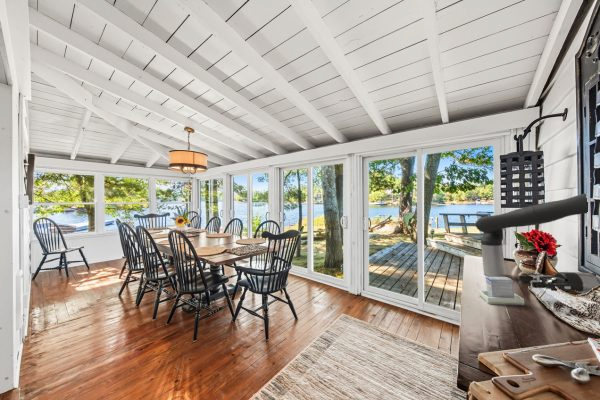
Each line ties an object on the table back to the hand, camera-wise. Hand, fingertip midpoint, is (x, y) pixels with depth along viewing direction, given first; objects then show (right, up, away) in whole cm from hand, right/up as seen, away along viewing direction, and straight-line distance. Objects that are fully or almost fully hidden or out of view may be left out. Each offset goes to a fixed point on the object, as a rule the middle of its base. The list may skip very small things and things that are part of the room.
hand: (525, 281), depth 96 cm
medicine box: (-8, -8, +2) cm, 12 cm away
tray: (-8, -9, +2) cm, 12 cm away
